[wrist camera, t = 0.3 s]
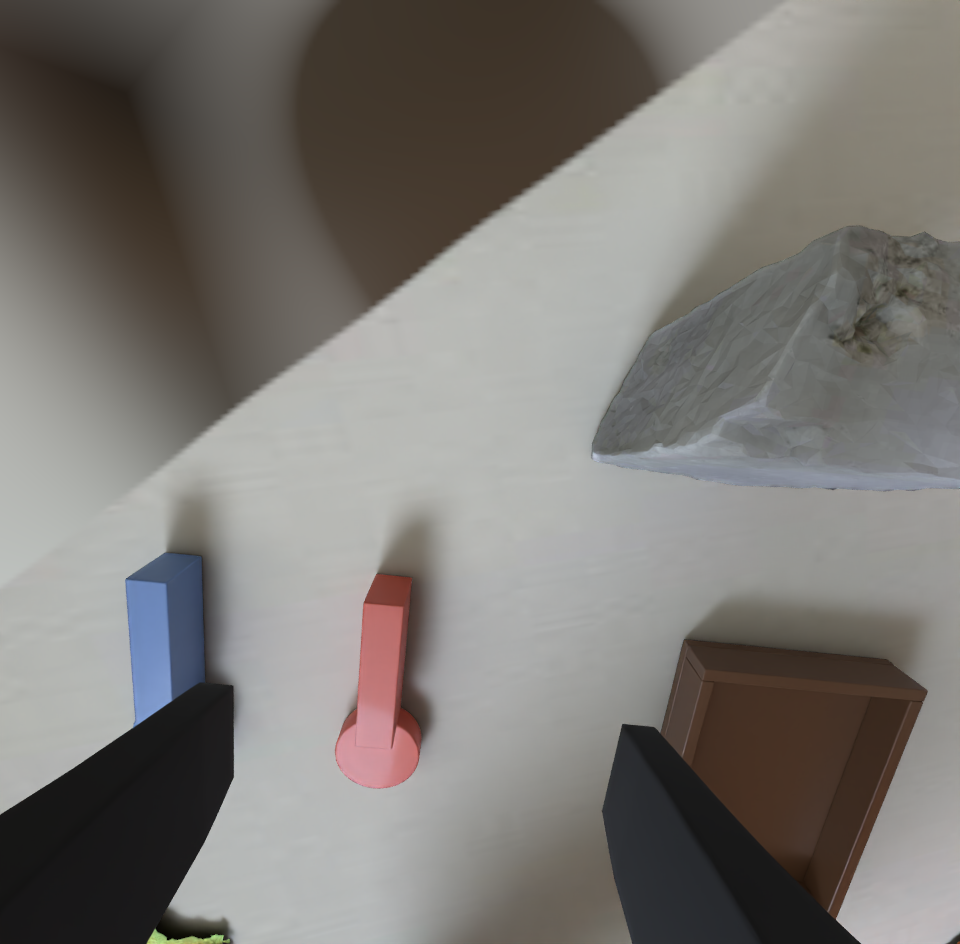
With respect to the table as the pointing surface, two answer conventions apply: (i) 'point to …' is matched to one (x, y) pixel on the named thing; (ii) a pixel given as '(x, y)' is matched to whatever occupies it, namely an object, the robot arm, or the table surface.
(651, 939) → the robot arm
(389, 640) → the terracotta spoon
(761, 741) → the tray
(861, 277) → the mineral specimen
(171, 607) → the blue spoon
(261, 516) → the table surface
